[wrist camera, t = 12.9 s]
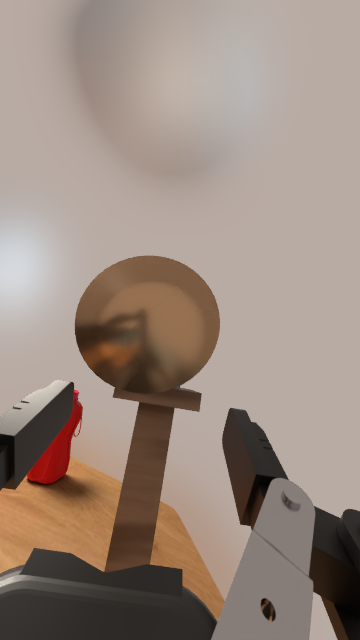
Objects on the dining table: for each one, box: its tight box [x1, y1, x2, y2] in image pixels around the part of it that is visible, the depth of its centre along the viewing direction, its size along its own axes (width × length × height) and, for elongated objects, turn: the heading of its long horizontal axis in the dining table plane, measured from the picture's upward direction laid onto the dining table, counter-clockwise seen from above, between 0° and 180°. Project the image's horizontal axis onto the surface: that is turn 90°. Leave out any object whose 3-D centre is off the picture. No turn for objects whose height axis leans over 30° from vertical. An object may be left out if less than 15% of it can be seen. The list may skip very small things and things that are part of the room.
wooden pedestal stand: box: [104, 387, 201, 572], centre depth 25 cm, size 12×10×32 cm
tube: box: [75, 256, 220, 394], centre depth 15 cm, size 24×3×3 cm, turn 4°
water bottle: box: [27, 390, 83, 484], centre depth 65 cm, size 9×11×25 cm
